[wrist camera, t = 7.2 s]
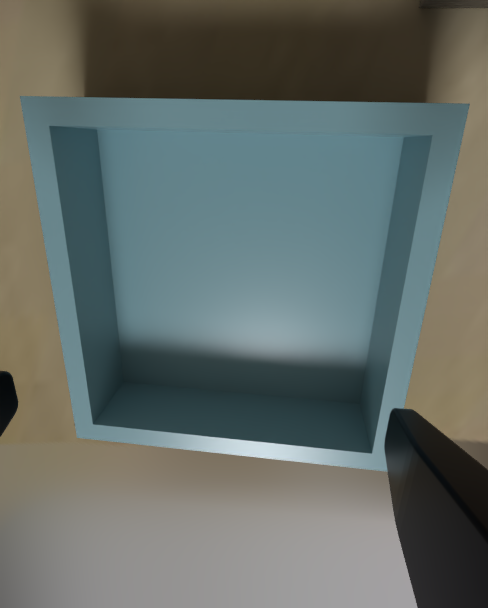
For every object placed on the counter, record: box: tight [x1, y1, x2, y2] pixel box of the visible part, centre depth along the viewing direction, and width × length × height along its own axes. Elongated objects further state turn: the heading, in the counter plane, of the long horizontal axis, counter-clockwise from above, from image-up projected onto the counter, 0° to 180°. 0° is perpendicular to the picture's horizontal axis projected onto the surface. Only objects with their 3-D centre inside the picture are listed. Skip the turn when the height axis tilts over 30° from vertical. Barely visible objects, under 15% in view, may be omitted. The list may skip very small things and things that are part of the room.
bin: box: [20, 96, 470, 472], centre depth 16 cm, size 13×13×4 cm
